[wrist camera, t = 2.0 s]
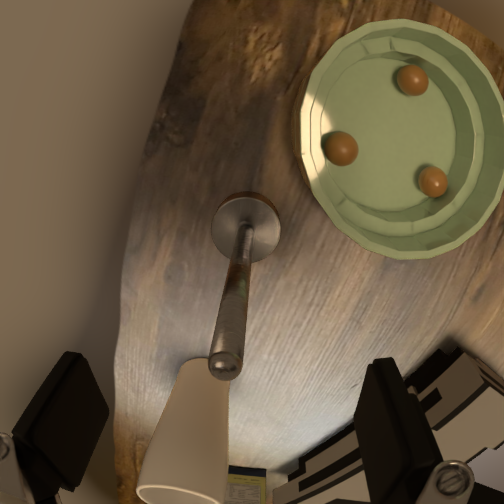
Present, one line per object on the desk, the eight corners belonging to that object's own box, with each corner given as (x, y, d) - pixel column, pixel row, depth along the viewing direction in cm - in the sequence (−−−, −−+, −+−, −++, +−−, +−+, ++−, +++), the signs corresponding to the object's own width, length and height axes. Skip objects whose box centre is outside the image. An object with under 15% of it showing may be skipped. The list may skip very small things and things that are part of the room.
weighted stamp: (212, 192, 24) (134, 312, 9) (279, 190, 24) (304, 313, 9) (217, 253, 26) (166, 415, 11) (279, 252, 26) (295, 419, 11)
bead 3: (414, 162, 22) (428, 167, 19) (439, 165, 21) (454, 170, 19) (412, 192, 22) (425, 200, 20) (436, 194, 22) (451, 202, 20)
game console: (272, 470, 39) (272, 515, 32) (449, 331, 28) (484, 382, 21) (362, 489, 43) (369, 524, 36) (508, 381, 32) (532, 418, 25)
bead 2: (391, 64, 19) (404, 59, 16) (419, 69, 19) (433, 65, 16) (392, 94, 20) (405, 92, 17) (420, 98, 20) (435, 97, 17)
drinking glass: (160, 359, 31) (116, 484, 17) (217, 341, 29) (191, 484, 16) (194, 400, 33) (170, 517, 19) (248, 386, 32) (240, 515, 18)
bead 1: (321, 130, 21) (327, 131, 19) (353, 132, 21) (363, 133, 19) (321, 163, 22) (327, 168, 20) (353, 164, 22) (362, 169, 20)
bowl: (287, 32, 19) (294, 5, 13) (465, 59, 18) (508, 52, 13) (291, 229, 25) (299, 262, 19) (457, 229, 24) (495, 256, 18)
